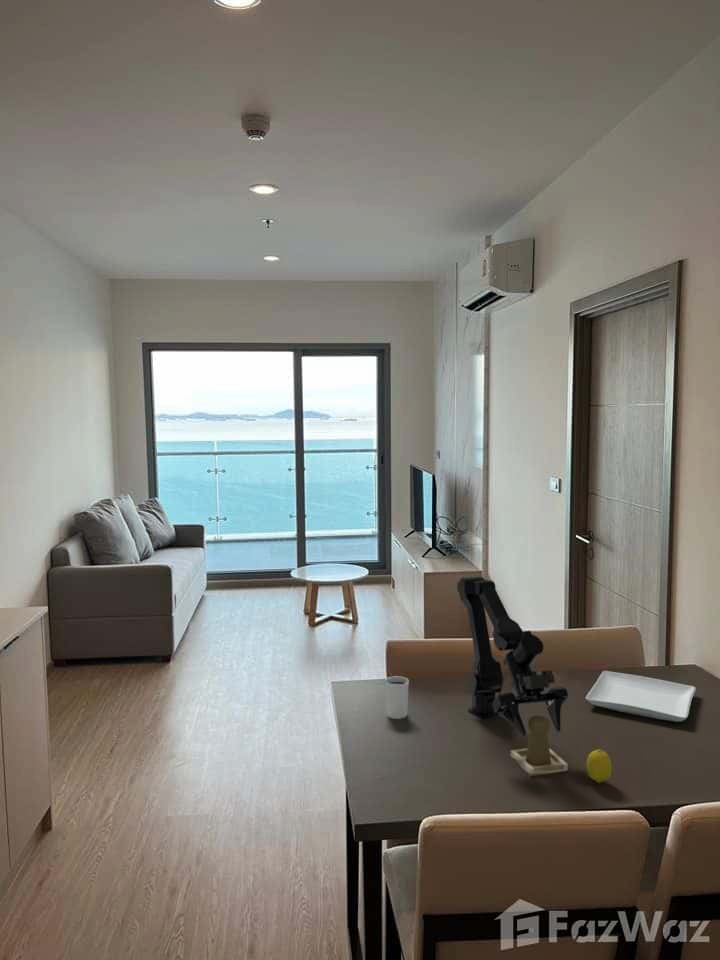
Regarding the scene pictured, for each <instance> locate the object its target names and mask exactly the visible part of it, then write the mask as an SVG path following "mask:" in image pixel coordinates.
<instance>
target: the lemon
mask: <svg viewBox="0 0 720 960" xmlns="http://www.w3.org/2000/svg"><path fill="white" fill-rule="evenodd" d="M612 766H613V765H612V760H611V757H610V756H609V754H608V753H606V752H605V751H604V750H602V749H601V748H600V749H596V750H593V751H591V752H590V753H589V755H588V757H587V758H586V772H587V774H588V776H589V777H590V778H591V780H594V781H595V782H596V784H600V783H602V782H605V781H607V780H608V779H609V778H610V776H611V774H612Z"/></svg>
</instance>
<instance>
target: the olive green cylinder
mask: <svg viewBox="0 0 720 960" xmlns="http://www.w3.org/2000/svg"><path fill="white" fill-rule="evenodd" d="M527 725H528V729H529V736H528V742H527V754H526V762H527V763H528V764H530V765H532V766H542V765H550V764H551V759H550V750H549V748H550V744H549V743H550V742H549V733H548V732H550V730H551V724H550V720H549V719H548V718H547V717H545V716H541V715H533V716H531V717H530V718H529V720H528V722H527Z"/></svg>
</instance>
